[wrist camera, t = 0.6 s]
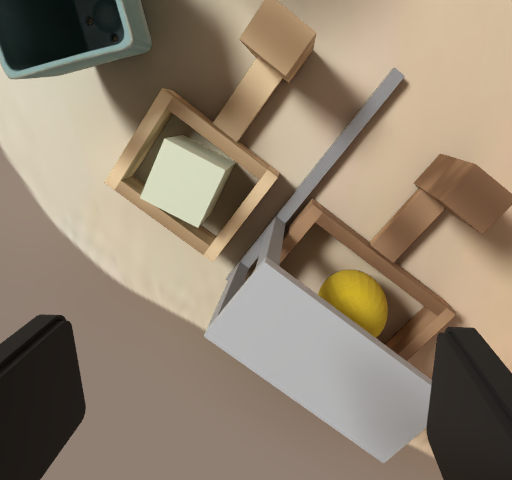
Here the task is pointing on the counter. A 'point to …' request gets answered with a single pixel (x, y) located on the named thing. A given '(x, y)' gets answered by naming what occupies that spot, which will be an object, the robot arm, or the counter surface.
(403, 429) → the grey bench
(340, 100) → the counter surface
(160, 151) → the sage cube
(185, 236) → the sled
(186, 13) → the counter surface
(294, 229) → the wooden handled tray
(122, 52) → the flower pot
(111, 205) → the counter surface
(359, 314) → the lemon
